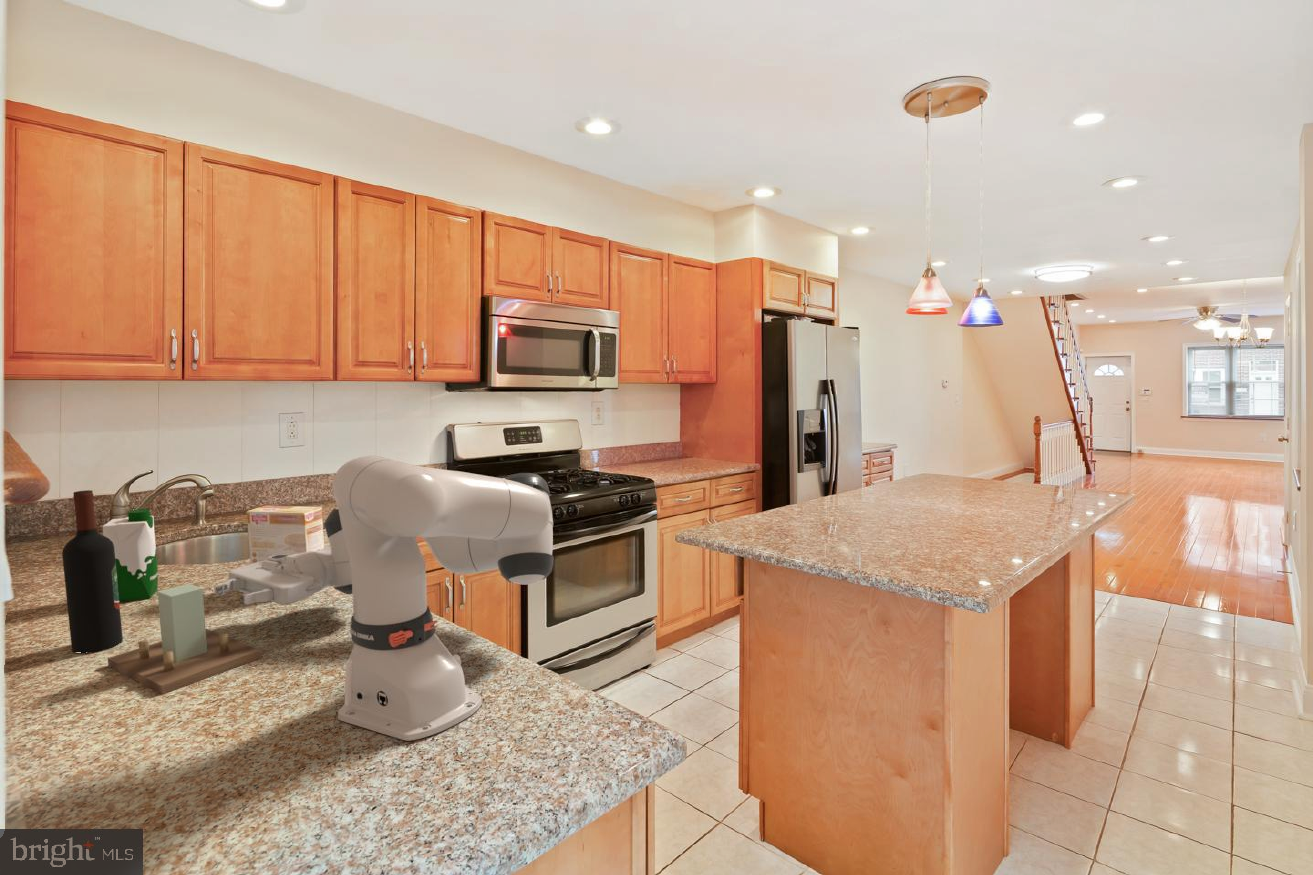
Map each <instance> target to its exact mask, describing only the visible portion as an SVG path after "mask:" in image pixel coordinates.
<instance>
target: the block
mask: <svg viewBox="0 0 1313 875" xmlns="http://www.w3.org/2000/svg"><path fill="white" fill-rule="evenodd" d="M157 600H158V613H159V622H160V623H159V625H160V636H161V641H162V649H163V653H165V652H168V651H173V658H174V661H175V662H179V661H182V660H185V659H188V658H191V657H194V656H197V655H200V654H203V653H206V652H207V640H206V629H207V628H206V618H205V617H206V615H205V605H204V604H205V603H204V591H203V588H202V587H200V586H196V585H194V584H191V583H186V584H182V585H179V586H174V587H170V588H167V589H163V590H158V591H157Z"/></svg>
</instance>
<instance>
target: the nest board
mask: <svg viewBox="0 0 1313 875" xmlns="http://www.w3.org/2000/svg"><path fill="white" fill-rule="evenodd" d="M206 640H207V652H206V653H203V654H200V655H197V656H194V657H191V658H188V659H185V660H182V661H179V662H175V661H174V658H173V651H168V652H165V653H163V649H162V640H161V641H159V642H156V643H152V644H149V640H148V639H143V640H140V641H139V642H138V648H136V649H132V650H130V651H126V652H123V653H120V654H117V655H113V656H110V657H108V658H107V665H108V667H109V666H110V667H109V668H111V669H113V670H115V671H117V672H119V673H121V674H123V675H125V676H127V677H128V678H130V679H132V680H134V681H135V682H138V683H140V684H142V685H144V686H146V687H147V688H149V689H151V690H153V691H155V692H157V693H159V694H160V695H166V694H168V693H170V692H173V691H175V690H178V689H181V688H184V687H187V686H189V685H193V684H195V683H198V682H199V681H203V680H205V679H208V678H211V677H213V676H216V675H219V674H221V673H224V672H227V671H229V670H232V669H235V668H237V667H240V666H243V665H245V664H248V662H249V663H251V662H255V661H256V660H260V659H261V658H262V651H261V649H259V648H256V647H254V646H251V645H249V644H246V643H244V642H241V641H239V640H236V639H233V638H231V637H229V633H228V632H227V633H226V632H225V633H218V632H216V631H213V630H212V629H211V630H210V629H208V628H206Z"/></svg>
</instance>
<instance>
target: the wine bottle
mask: <svg viewBox="0 0 1313 875" xmlns="http://www.w3.org/2000/svg"><path fill="white" fill-rule="evenodd" d="M72 495H73V502H74V513H75V521H76V522H75V523H76V524H75V525H76V535H75V536H73V537H72V538H71V539H70V540H69V541H68V542H66V544H65V545H64V547H63V548H62V551H61V552H62V553H61V555H62V566H63V574H64V575H63V576H64V586H65V596H66V597H65V598H66V605H67V614H68V615H67V616H68V623H69V634H70V646H71V652H73V653H74V652H81V653H85V654H87V653H86V652H93V653H98V652H102V651H106V650H110V649H112V648H115V647H117V646H119V645H120V644H121V643H123V639H124V638H123V629H122V618H121V617H122V616H121V607H120V606H121V604H120V602H119V594H118V583H117V572H116V561H115V551H114V544H113V542H112V541H111V540H110V539H109V538H107V537H105V536H103V534H101V533H99V531H98V529H97V526H96V525H97V524H96V515H95V514H96V513H95V505H94V498H95V497H94V492H93V490H92V489H91V490H90V489H89V490H79V491H74V492H73V493H72ZM119 643H120V644H119ZM118 644H119V645H118ZM116 645H117V646H116ZM114 646H115V647H114Z"/></svg>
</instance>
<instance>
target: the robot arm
mask: <svg viewBox="0 0 1313 875" xmlns="http://www.w3.org/2000/svg"><path fill="white" fill-rule="evenodd" d="M331 487H332V489H331V490H332V494H333V497H334V500H335V503H336V505H337V507H334V508H333V509H332V510H331V511H330V513H329V514H328V516H327V517H326V519H325V521H324V522H323V526H324V528H325V532H326V536H327V538H328V542H329V546H328V545H327V546H324V548H323V549H321V550H319V551H308V552H304V553H300V554H294V555H274V556H270V557H268V561H260V562H256V563H252V564H250V563H249V564H246V565H243V566H240V567H236V568H233V570H230V571H229V572H228V575H227V576H228V580H226V581H224V582H223V583H220V584H216V585H215V586H214V587H213V588H214V589H213V592H214V594H215V595H216V596H224V595H228V594H229V593H230V592H231V591H234V592H235V591H238V592H241V593H242V594H241V596H240V599H241V600H240V601H241V604H245V605H250V604H254V603H264V602H265V603H267V602H272V603H275V604H278V605H280V606H281V605H282V606H284V605H285V606H287V605H292V604H295V603H298V602H300V601H303V600H305V599H308V598H309V597H312V596H314V595H315V594H317V593H319V592H320V591H322V590H324V589H326V588H328V587H333V588H334V589H335V590H336V591H338V592H340V593H342V594H345V595H352V607H353V608H352V609H353V610H352V611H353V615H351V617H350V626H349V629H350V634H351V641H352V642H353V646H352V649H351V652H350V655H349V657H348V659H347V661H346V664H345V682H344V684H345V685H344V686H345V687H344V704H343V705H342V706H340V707H341V708H339V710H338V712H337V719H338V721H341V722H344V723H348V724H351V725H354V726H357V727H361V728H363V729H367V730H370V731H374V732H375V733H380V734H383V735H385V736H386V735H387V736H389V737H392V738H395V739H397V740H398V739H399V740H402V741H405V742H407V741H408V742H410V741H415V740H420V739H423V738H427V737H429V736H432V735H436V734H438V733H440V732H443V731H445V730H447V729H449V728H451V727H453V726H455V725H457V724H459V723H461V722H462V721H464V720H466V719H467V718H469V717H470V716H472V715H473V714H475V713H476V712H477V711H479V710H478V709H479V708H481V706H482V703H483V702H482V701H483V700H482V697H481V696H480V695H479V694H478V693H477V692H475V691H473V690H472V689H471V688H469V687H468V686H467V685H466V682H465V680H466V679H465V674H464V670H463V667H462V660H461V657H460V655H459V654H453V655H452V654H451V652H450V651H449V649H448V648H447V647H446V646H445V644H444V643H443V642H442V641H441V640H440V638H439V637H438V635H437V634H436V628H437V627H438V626H439V625H435V624H437V623H438V622H439V621H438V620H434V617H433V614H432V612H431V610H430V606H429V605H428V596H427V595H428V593H427V569H426V561H425V558H424V557H425V556H424V555H423V553H422V551H421V549H420V546H419V543H418V541H417V538H422V539H423V540H424V541H425V543H426V544H427V546H428V548H429V549H430V552H431V553H432V555H433V556H434V559H435V560H436V561H437V562H438V564H439V565H441V566H442V567H443V569H445V570H447V571H449V572H450V573H453V574H455V575H470V574H471V575H472V574H480V573H485V572H490V571H491V572H492V571H495V570H499V573H500V575H501V577H503V579H505V580H506V581H507V582H508V583H512V584H513V583H514V584H518V585H522V586H523V585H532V584H535V583H537V582H540V581H542V580H545V579H546V578H547V577H549V575H551V573H552V572H553V567H554V556H553V550H554V548H553V547H554V545H553V544H554V537H553V536H554V531H553V527H554V519H553V512H552V505H551V499H550V496H551V493H550V489H549V486H548V482H547V481H546V480H545V479H544V478H543V477H542V476H540V474H537V473H531V472H519V473H514V474H511V475H507V476H506V477H504V478H501V477H495V476H490V475H489V476H488V475H484V474H477V473H471V472H465V471H459V470H449V469H442V468H440V469H439V468H434V467H427V466H421V465H420V466H419V465H415V464H410V463H406V462H404V461H403V462H401V461H398V460H394V459H390V458H387V457H383V456H380V455H366V456H360V457H357V458H354V459H351V460H349V461H347V462H345V463H344V464H342V465H341V466H340V468H339V469H338V470H337V471H336V473H335V475H334V477H333V480H332V486H331Z"/></svg>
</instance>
